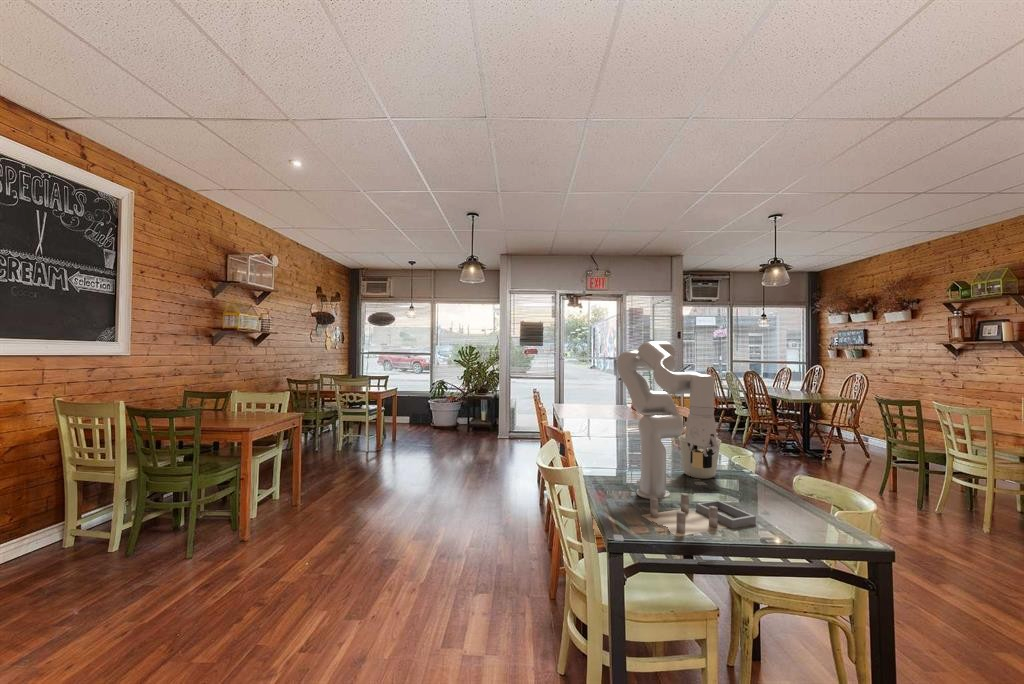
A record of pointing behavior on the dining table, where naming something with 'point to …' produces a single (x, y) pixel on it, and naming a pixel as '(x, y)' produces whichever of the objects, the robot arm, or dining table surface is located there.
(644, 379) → the robot arm
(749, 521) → the tray
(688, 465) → the canister
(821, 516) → the dining table surface
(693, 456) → the tan faceted piece
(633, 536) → the dining table surface
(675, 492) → the dining table surface
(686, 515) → the spacer board
